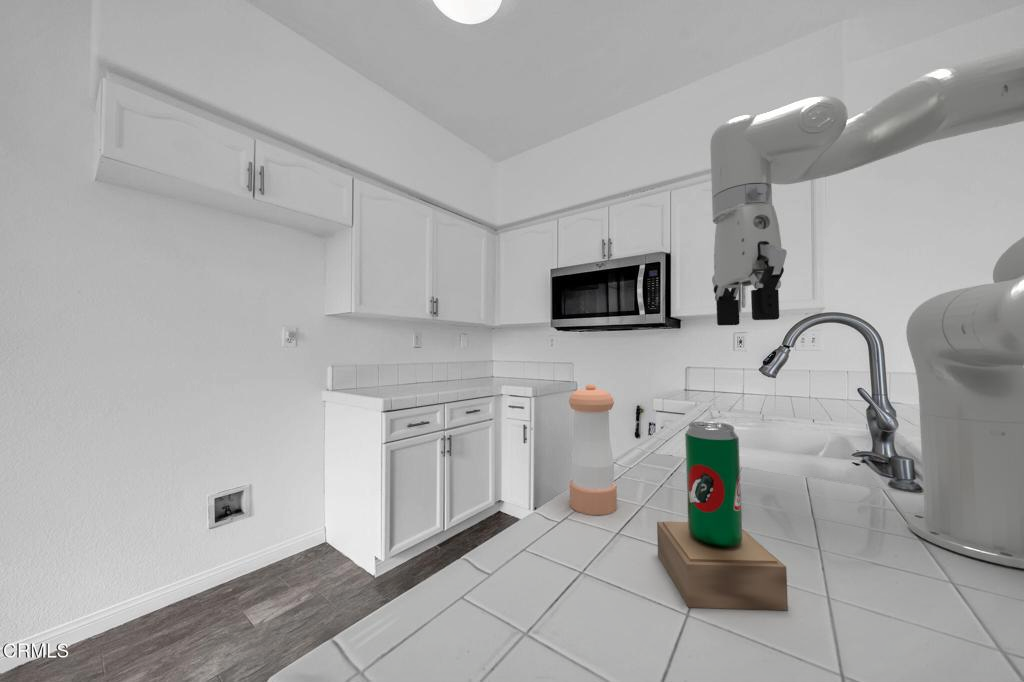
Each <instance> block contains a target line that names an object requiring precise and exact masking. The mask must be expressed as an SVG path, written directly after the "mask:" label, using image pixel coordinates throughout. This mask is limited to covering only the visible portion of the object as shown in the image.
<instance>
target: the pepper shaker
mask: <svg viewBox="0 0 1024 682" xmlns="http://www.w3.org/2000/svg"><path fill="white" fill-rule="evenodd" d="M610 393H611V392H610ZM610 393H609V392H607V391H606V390H604V389H598V388H597V386H596V385H595V384H594V383H593V384H592V383H589V384H586V386H585V389H583V388H582V389H578V390H575V391H574V392H572V393H571V395H570V396H569V400H568V403H569V407H570V409H571V410H573V412H574V413H573V429H574V431H573V434H574V435H573V437H574V438H573V444H572V451H571V460H570V461H571V462H570V463H571V480H570V481H569V505H570V507H571V509H572V510H574V511H576V512H577V513H581V514H584V515H589V516H603V515H604V516H605V515H611V514H612V513H615V511H617V508H618V499H617V497H618V494H617V493H618V492H617V491H618V490H617V487H618V486H617V484H616V482H615V461H614V460H615V459H614V456H613V450H612V444H611V439H610V438H611V437H610V412H609V411H611V410H612V409H613V407H614V403H615V402H614V398H613V395H611V394H610Z"/></svg>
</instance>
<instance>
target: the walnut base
mask: <svg viewBox="0 0 1024 682" xmlns="http://www.w3.org/2000/svg"><path fill="white" fill-rule="evenodd" d="M656 528H657V529H656V533H657V556H658V559H659V560H660V561H661V564H662V565H663V567H664V568H665V570H666V573H667V574H668V575H669V577H670V579H671V580H672V582H673V583H674V585H675V587H676V588H677V591H678V592H679V594H680V596H681V597H682V599H683V601H684V602H685V604H686V607H688V608H694V609H695V608H696V609H697V608H699V609H701V608H702V609H724V610H725V609H729V610H731V609H733V610H756V611H757V610H760V611H761V610H762V611H789V606H788V605H789V604H788V581H787V580H788V576H787V575H788V573H787V571H788V570H787V566H786V565H785V564H784V563H782V561H780V560H779V559H778V558H777V557H776V556H774V554H772V553H771V552H770V551H769V550H768V549H766V548H765V547H764V546H763V545H762V544H760V542H758V541H757V540H756V539H755V538H754V537H752V536H751V535H750V534H749V533H748V532H747V531H745V530H744V529H743V528H742V541H741V542H740V543H739V544H738V545H737V546H736V547H733V548H725V549H724V548H715V547H711V546H708V545H705V544H703V543H701V542H699V541H697V540H696V539H695V538H694V537H693V536H692V534H691V533H690V532H689V530H688V521H656Z"/></svg>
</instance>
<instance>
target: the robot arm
mask: <svg viewBox="0 0 1024 682" xmlns="http://www.w3.org/2000/svg"><path fill="white" fill-rule="evenodd" d="M1021 122H1024V46H1019V47H1015V48H1013V49H1009V50H1005V51H1001V52H998V53H994V54H990V55H986V56H983V57H978V58H974V59H971V60H970V59H969V60H967V61H963V62H960V63H954V64H952V65H947V66H944V67H941V68H937V69H934V70H931V71H928V72H927V73H925V74H923V75H921V76H919V77H917V78H916V79H914V80H912V81H910V82H908V83H907V84H905V85H903V86H902V87H900V88H898V89H897V90H896V91H894V92H892V93H891V94H890V95H888V96H887V97H885V98H884V99H882V100H881V101H879V102H878V103H876V104H875V105H873V106H872V107H870V108H868V109H866V110H865V111H863V112H861V113H859V114H857V115H856V116H853V117H852V118H850V119H849V113H848V108H847V106H846V105H845V103H844V102H843V101H842V100H841V99H839V98H837V97H836V96H835V97H834V96H830V95H816V96H812V97H811V96H810V97H807V98H806V97H805V98H804V99H801V100H797V101H795V102H792V103H789V104H786V105H784V106H781V107H778V108H776V109H773V110H770V111H768V112H764V113H761V114H744V115H739V116H736V117H733V118H731V119H729V120H727V121H725V122H724V123H722V124H721V125H720V126H718V127H717V128H716V130H714V132H713V134H712V136H711V138H710V168H711V170H710V175H711V177H710V178H711V201H712V203H711V206H712V207H711V208H712V222H713V224H715V231H714V232H715V233H714V234H715V235H714V244H713V245H714V246H713V247H714V248H713V271H714V274H713V276H712V277H711V282H712V285H713V292H714V295H715V296H714V300H715V301H716V302H715V303H716V304H715V305H716V324H717V325H718V326H738V325H740V300H739V299H737V297H738V296H737V295H738V294H739V290H740V288H741V286H743V287H749V286H750V287H751V286H753V288H754V289H752V290H750V299H751V319H752V320H753V321H775V320H778V319H780V299H779V297H780V296H779V289H780V288H781V286H782V281H781V278H782V276H783V274H784V271H785V268H784V264H785V262H786V261H785V260H786V259H787V255H788V254H787V252H788V251H787V250H786V249H785V248H783V247H782V239H781V230H780V225H779V220H778V216H777V212H776V209H775V206H774V205H773V187H772V184H773V185H793V184H797V183H803V182H809V181H813V180H819V179H821V178H826V177H827V178H828V177H831V176H834V175H838V174H842V173H845V172H848V171H851V170H854V169H858V168H860V167H863V166H866V165H869V164H872V163H874V162H877V161H880V160H883V159H886V158H889V157H892V156H895V155H898V154H901V153H903V152H906V151H909V150H911V149H913V148H916V147H918V146H921V145H924V144H927V143H931V142H936V141H940V140H944V139H948V138H953V137H957V136H961V135H965V134H966V135H967V134H970V133H974V132H979V131H983V130H989V129H992V128H999V127H1003V126H1007V125H1013V124H1016V123H1021ZM992 280H993V283H987V284H986V283H985V284H980V285H979V284H978V285H975V286H974V285H973V286H969V287H964V288H960V289H954V290H950V291H947V292H943V293H940V294H938V295H935V296H933V297H931V298H929V299H927V300H925V301H923V302H922V303H921V304H920V305H918V306H917V307H916V308H915V310H913V311H912V313H911V314H910V316H909V318H908V321H907V323H906V324H907V325H906V331H905V332H906V341H907V345H908V349H909V352H910V355H911V358H912V361H913V364H914V370H915V375H916V380H917V388H918V400H919V402H918V403H919V405H918V406H919V426H920V428H919V429H920V447H921V464H922V465H921V466H922V467H921V468H922V484H923V487H922V488H923V489H922V490H923V503H924V504H923V505H924V507H923V508H924V512H919V513H914V514H911V515H909V516H908V518H907V525H908V528H909V529H910V531H912V532H913V533H914V534H915V535H917V536H919V537H921V539H924V540H925V541H928V542H930V543H931V544H935V545H937V546H939V547H941V548H944V549H947V550H949V551H952V552H954V553H957V554H960V555H964V556H968V557H971V558H974V559H977V560H981V561H984V562H989V563H992V564H993V563H994V564H997V565H1000V566H1001V565H1002V566H1005V567H1006V566H1007V567H1010V568H1011V567H1013V568H1017V569H1023V570H1024V236H1023V237H1022V238H1019V239H1018V240H1017V241H1016V242H1014V243H1013V244H1012V245H1010V246H1009V248H1007V249H1006V250H1005V251H1004V252H1003V253H1002V254H1001V256H999V258H998V260H997V261H996V262H995V265H994V267H993V272H992Z"/></svg>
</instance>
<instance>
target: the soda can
mask: <svg viewBox="0 0 1024 682" xmlns="http://www.w3.org/2000/svg"><path fill="white" fill-rule="evenodd" d="M684 435H685V438H684V439H685V441H684V442H685V467H686V468H685V470H686V496H687V522H688V530H689V532H690V533H691V534H692V536H693V537H694V538H695V539H696V540H697V541H699V542H701V543H703V544H705V545H708V546H711V547H715V548H724V549H725V548H733V547H736V546H737V545H738V544H739V543H740V542H741V541H742V529H743V518H742V517H743V516H742V492H741V491H742V490H741V489H742V488H741V464H740V462H741V461H740V458H741V457H740V438H739V436H738V435H737V433H736V431H735V426H733V425H731V424H727V423H725V422H724V423H723V422H715V421H694V422H689V423H688V428H687V431H686V432H685V433H684Z"/></svg>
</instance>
